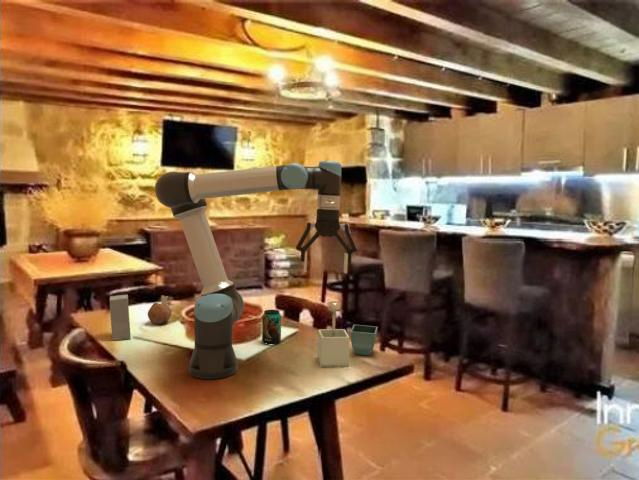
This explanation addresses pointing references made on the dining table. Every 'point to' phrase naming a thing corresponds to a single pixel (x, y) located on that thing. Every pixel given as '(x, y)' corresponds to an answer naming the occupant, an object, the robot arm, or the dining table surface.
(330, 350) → the cream square planter
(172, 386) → the dining table surface
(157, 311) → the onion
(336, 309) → the plunger
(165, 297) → the architectural model
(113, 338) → the skincare box
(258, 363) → the dining table surface
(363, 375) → the dining table surface
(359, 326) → the flower pot
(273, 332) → the beverage can
